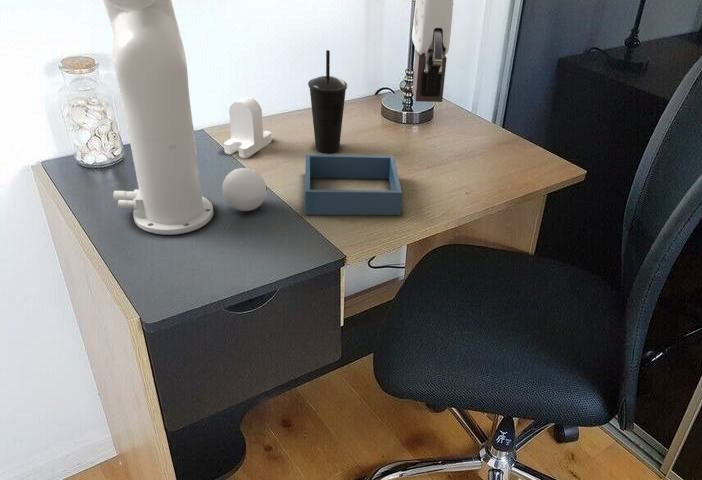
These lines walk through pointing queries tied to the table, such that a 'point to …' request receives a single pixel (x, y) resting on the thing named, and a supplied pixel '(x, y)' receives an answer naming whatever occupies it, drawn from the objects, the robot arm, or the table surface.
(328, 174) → the desk tub
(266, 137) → the cable organizer
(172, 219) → the robot arm
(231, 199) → the white ball
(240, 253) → the table surface
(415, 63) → the walnut block
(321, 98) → the drinking cup
